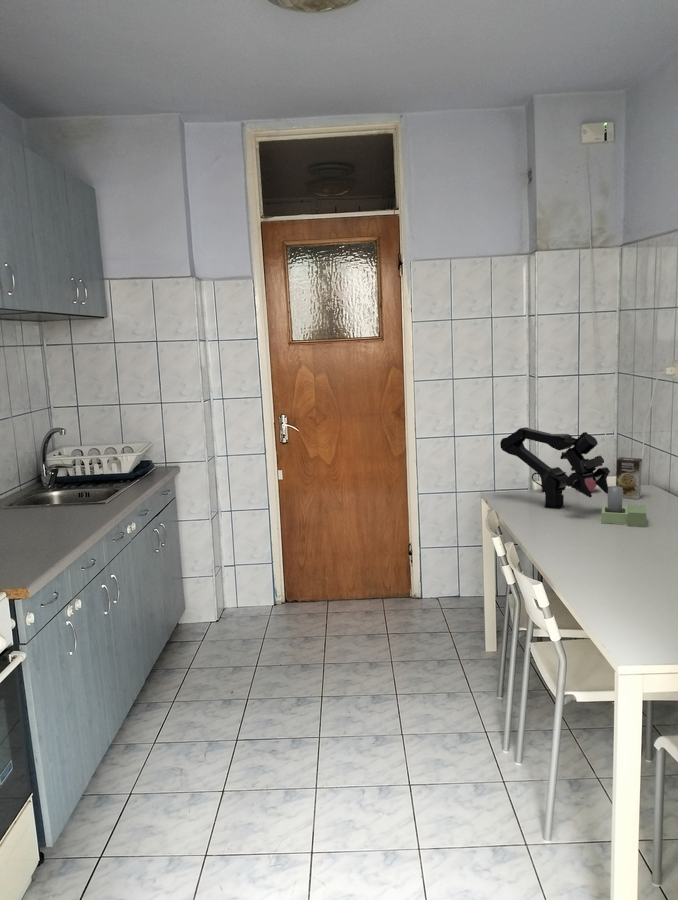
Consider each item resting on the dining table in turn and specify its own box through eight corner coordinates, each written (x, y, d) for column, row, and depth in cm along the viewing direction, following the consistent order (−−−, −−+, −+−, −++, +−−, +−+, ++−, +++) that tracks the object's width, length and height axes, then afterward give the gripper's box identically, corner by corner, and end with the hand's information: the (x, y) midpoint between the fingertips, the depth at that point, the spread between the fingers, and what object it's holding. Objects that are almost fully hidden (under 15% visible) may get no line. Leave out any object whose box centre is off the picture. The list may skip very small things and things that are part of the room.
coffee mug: (561, 490, 320) (562, 467, 318) (558, 494, 312) (559, 471, 311) (534, 488, 325) (534, 466, 323) (531, 493, 317) (531, 470, 316)
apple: (573, 490, 320) (573, 467, 318) (590, 488, 322) (591, 465, 320) (585, 494, 311) (585, 471, 309) (603, 492, 313) (604, 469, 311)
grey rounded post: (610, 523, 268) (611, 489, 266) (605, 519, 273) (605, 486, 270) (624, 522, 268) (625, 488, 266) (618, 518, 273) (618, 485, 271)
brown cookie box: (614, 497, 304) (615, 459, 301) (618, 494, 309) (619, 456, 307) (638, 499, 299) (639, 460, 296) (641, 496, 305) (642, 458, 302)
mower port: (601, 524, 266) (601, 511, 265) (602, 515, 277) (602, 503, 276) (646, 526, 261) (646, 513, 260) (644, 518, 272) (645, 505, 271)
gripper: (571, 452, 272) (594, 486, 264) (607, 446, 281) (629, 479, 273) (555, 469, 280) (577, 503, 273) (590, 463, 289) (612, 496, 282)
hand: (599, 495), depth 275 cm, fingers open, 9 cm apart
